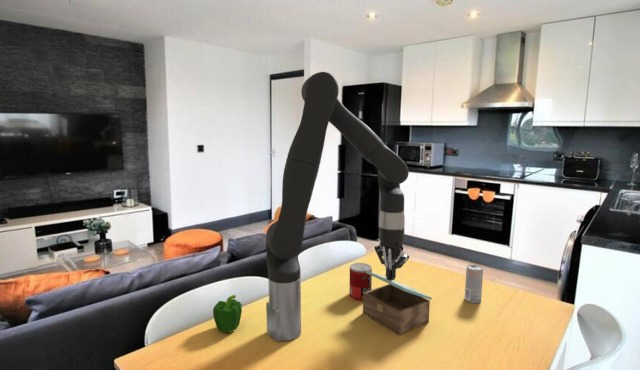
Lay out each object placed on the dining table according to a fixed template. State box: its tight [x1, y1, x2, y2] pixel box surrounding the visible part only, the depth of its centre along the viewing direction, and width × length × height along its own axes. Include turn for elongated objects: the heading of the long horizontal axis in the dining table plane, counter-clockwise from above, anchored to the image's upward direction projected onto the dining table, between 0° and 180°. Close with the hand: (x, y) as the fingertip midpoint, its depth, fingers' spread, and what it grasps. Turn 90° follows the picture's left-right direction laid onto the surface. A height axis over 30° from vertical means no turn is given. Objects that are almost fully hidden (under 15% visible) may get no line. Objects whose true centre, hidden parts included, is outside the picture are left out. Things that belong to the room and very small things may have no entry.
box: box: [362, 283, 431, 336], centre depth 116 cm, size 13×16×7 cm
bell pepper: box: [212, 294, 243, 333], centre depth 110 cm, size 8×8×10 cm
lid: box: [366, 271, 432, 301], centre depth 116 cm, size 14×16×1 cm
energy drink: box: [464, 264, 484, 304], centre depth 128 cm, size 5×5×12 cm
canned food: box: [349, 262, 373, 301], centre depth 131 cm, size 8×8×11 cm
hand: (390, 279), depth 114 cm, fingers closed
